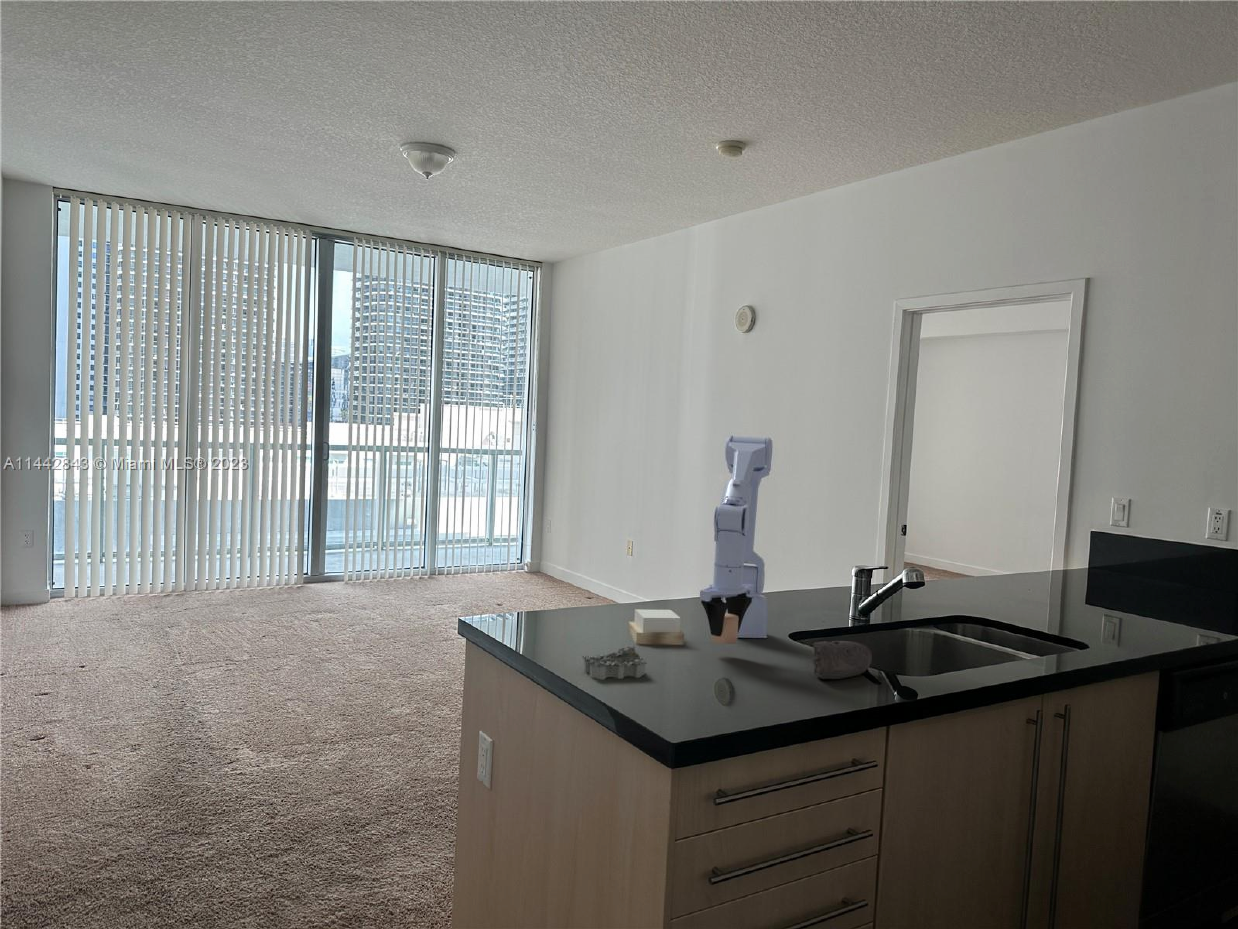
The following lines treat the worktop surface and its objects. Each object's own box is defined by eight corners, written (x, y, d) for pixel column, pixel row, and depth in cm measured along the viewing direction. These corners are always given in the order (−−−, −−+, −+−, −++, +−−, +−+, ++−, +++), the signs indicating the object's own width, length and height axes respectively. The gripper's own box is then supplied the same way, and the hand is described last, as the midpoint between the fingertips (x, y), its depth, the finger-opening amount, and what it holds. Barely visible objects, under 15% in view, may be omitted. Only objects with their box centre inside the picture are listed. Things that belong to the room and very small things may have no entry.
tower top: (669, 623, 180) (670, 609, 180) (679, 632, 172) (680, 618, 172) (634, 623, 178) (634, 609, 178) (642, 632, 171) (643, 617, 170)
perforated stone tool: (860, 670, 160) (862, 634, 159) (881, 677, 155) (883, 641, 155) (801, 677, 152) (803, 639, 152) (820, 685, 148) (823, 646, 148)
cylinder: (732, 637, 166) (734, 613, 166) (740, 644, 161) (741, 619, 161) (708, 637, 165) (710, 612, 165) (715, 644, 161) (717, 618, 160)
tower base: (672, 636, 181) (673, 622, 181) (683, 647, 171) (684, 633, 171) (627, 635, 180) (628, 621, 180) (636, 647, 170) (636, 632, 170)
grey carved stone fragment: (635, 667, 153) (636, 646, 153) (649, 679, 146) (650, 656, 146) (579, 669, 150) (581, 647, 150) (591, 681, 143) (592, 658, 143)
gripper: (735, 560, 171) (731, 624, 171) (689, 565, 161) (685, 633, 161) (763, 565, 166) (759, 632, 166) (717, 570, 156) (713, 641, 156)
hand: (724, 633), depth 163 cm, fingers closed on cylinder, 5 cm apart
